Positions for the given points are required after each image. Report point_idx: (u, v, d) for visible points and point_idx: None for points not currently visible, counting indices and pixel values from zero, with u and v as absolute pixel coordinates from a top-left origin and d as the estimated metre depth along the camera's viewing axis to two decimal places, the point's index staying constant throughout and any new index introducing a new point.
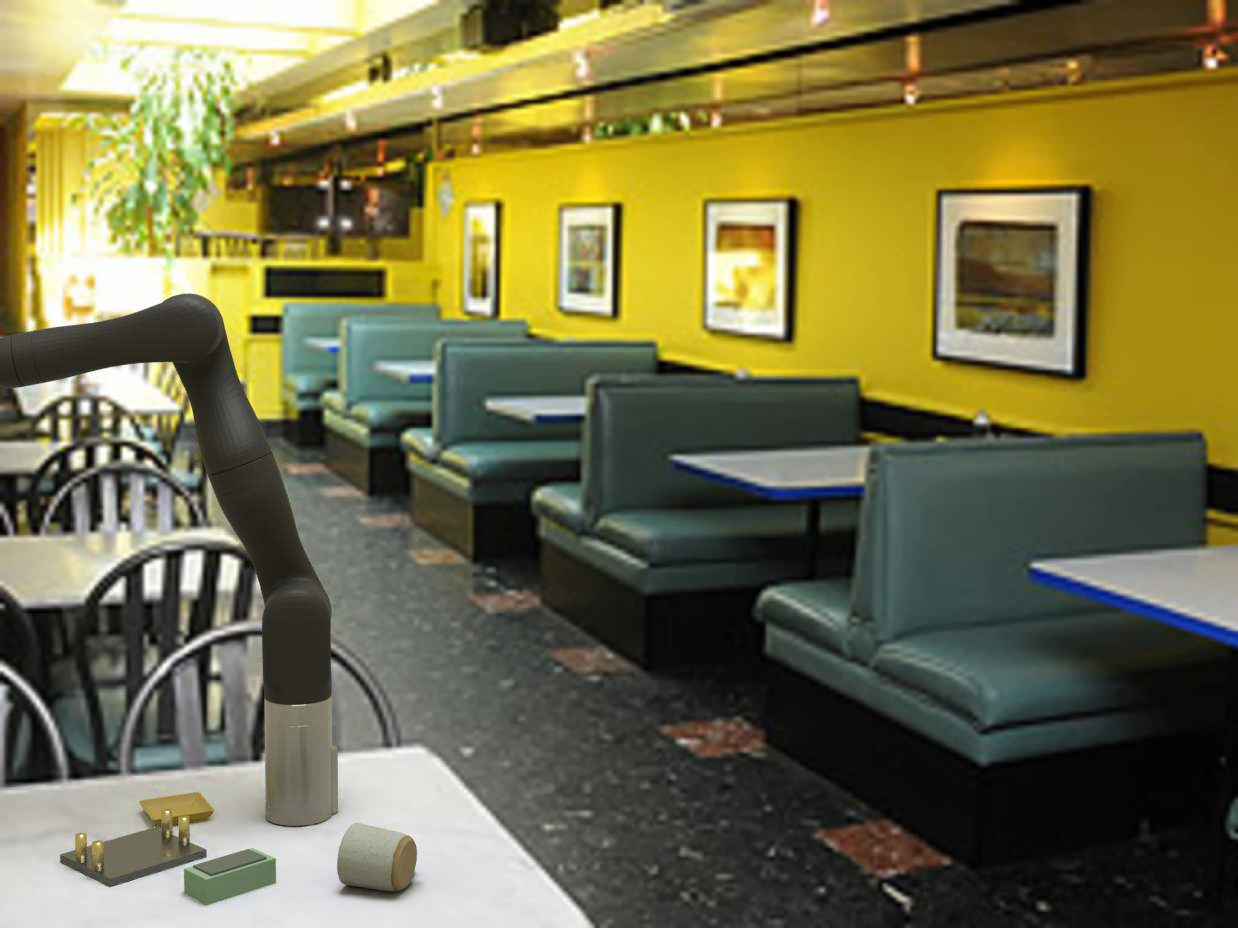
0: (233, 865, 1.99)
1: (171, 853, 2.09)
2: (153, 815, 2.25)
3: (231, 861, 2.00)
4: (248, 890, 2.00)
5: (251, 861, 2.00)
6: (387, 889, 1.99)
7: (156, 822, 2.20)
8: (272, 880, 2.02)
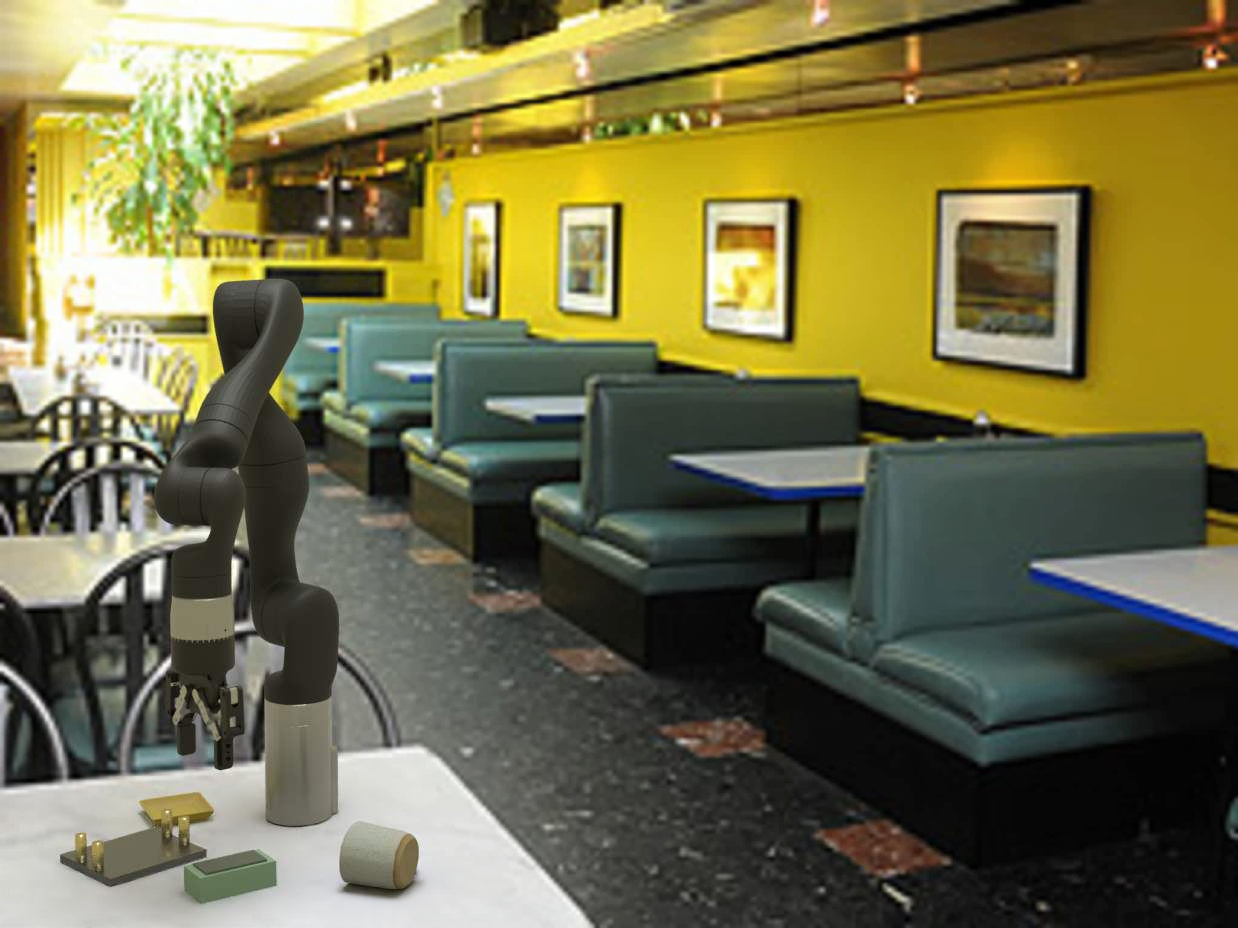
0: (231, 865, 1.99)
1: (171, 853, 2.09)
2: (153, 815, 2.25)
3: (231, 861, 2.00)
4: (246, 891, 1.99)
5: (250, 862, 2.00)
6: (389, 887, 1.99)
7: (156, 822, 2.20)
8: (272, 883, 2.01)
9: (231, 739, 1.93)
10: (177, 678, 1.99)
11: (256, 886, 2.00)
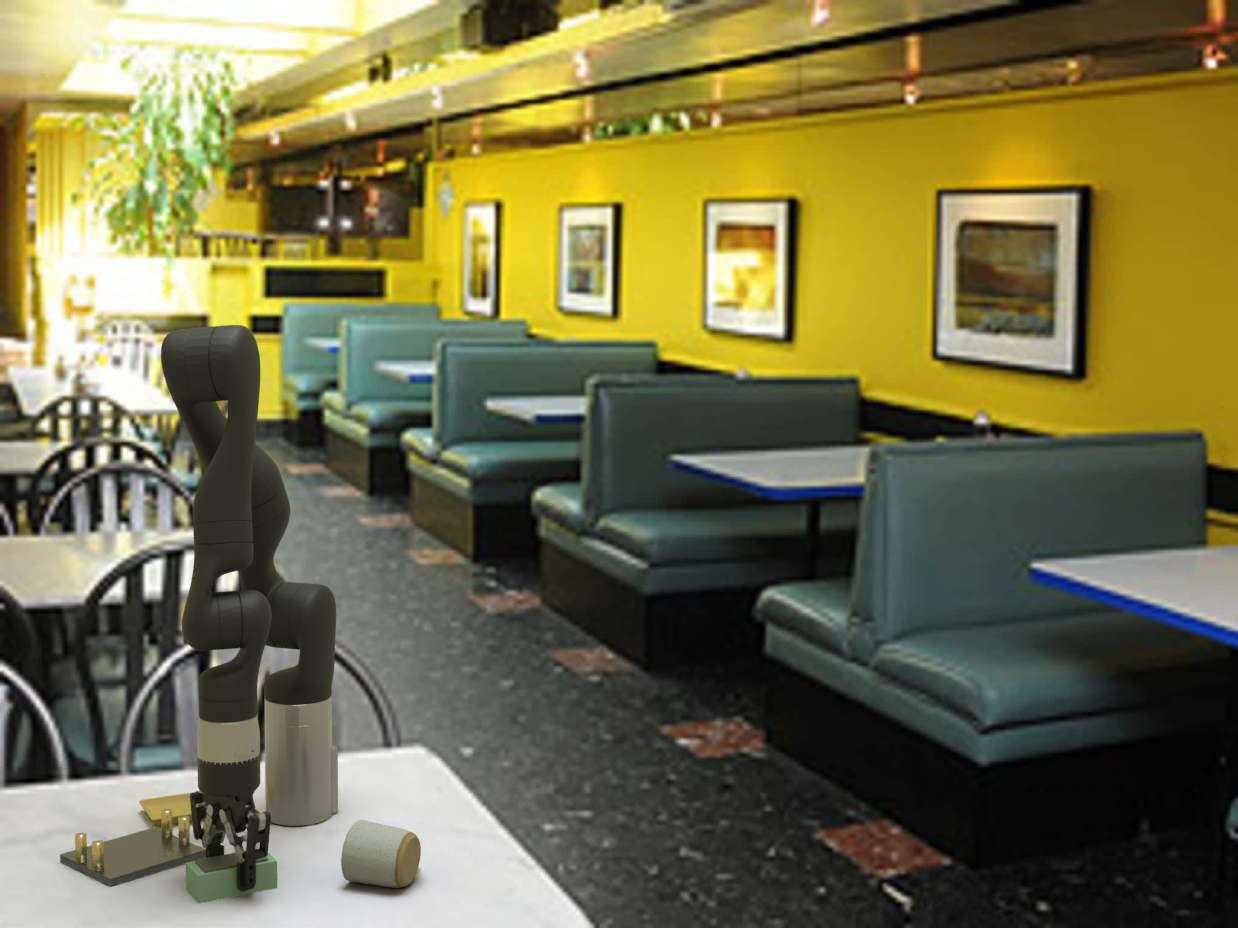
0: (231, 864, 1.98)
1: (171, 853, 2.09)
2: (153, 815, 2.26)
3: (232, 859, 2.00)
4: None
5: None
6: (391, 885, 2.00)
7: (156, 822, 2.20)
8: (273, 882, 2.01)
9: (254, 861, 1.97)
10: (201, 798, 2.02)
11: (256, 885, 1.99)
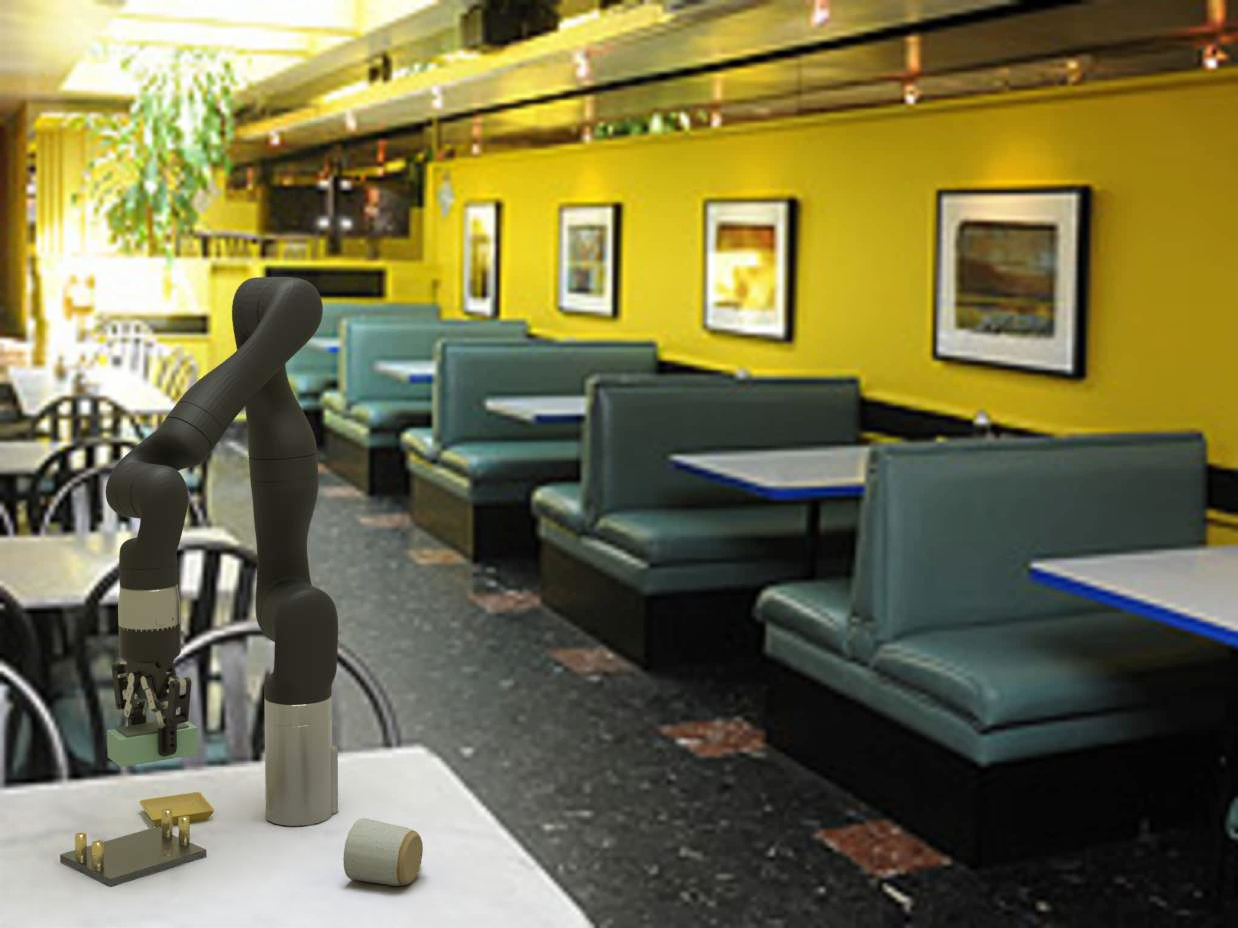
0: (152, 730, 2.03)
1: (171, 853, 2.09)
2: (153, 815, 2.26)
3: (153, 727, 2.05)
4: (167, 756, 2.04)
5: None
6: (393, 883, 2.01)
7: (156, 822, 2.20)
8: (194, 749, 2.06)
9: (175, 726, 2.02)
10: (123, 669, 2.07)
11: (177, 751, 2.05)
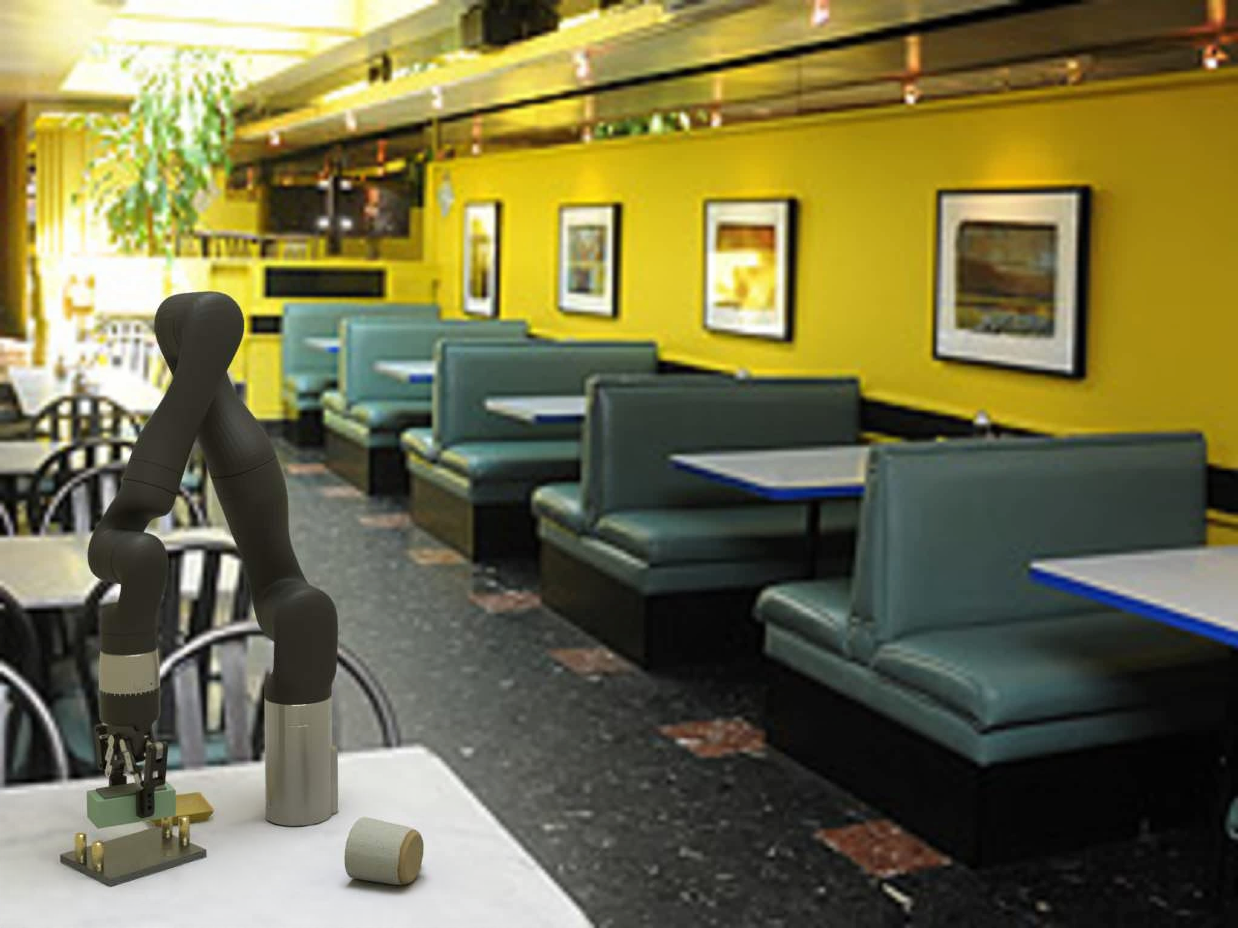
0: (130, 792, 2.07)
1: (171, 853, 2.09)
2: None
3: (132, 788, 2.08)
4: None
5: None
6: (394, 882, 2.01)
7: (155, 822, 2.20)
8: (171, 810, 2.09)
9: (152, 789, 2.06)
10: (105, 730, 2.11)
11: (155, 813, 2.08)
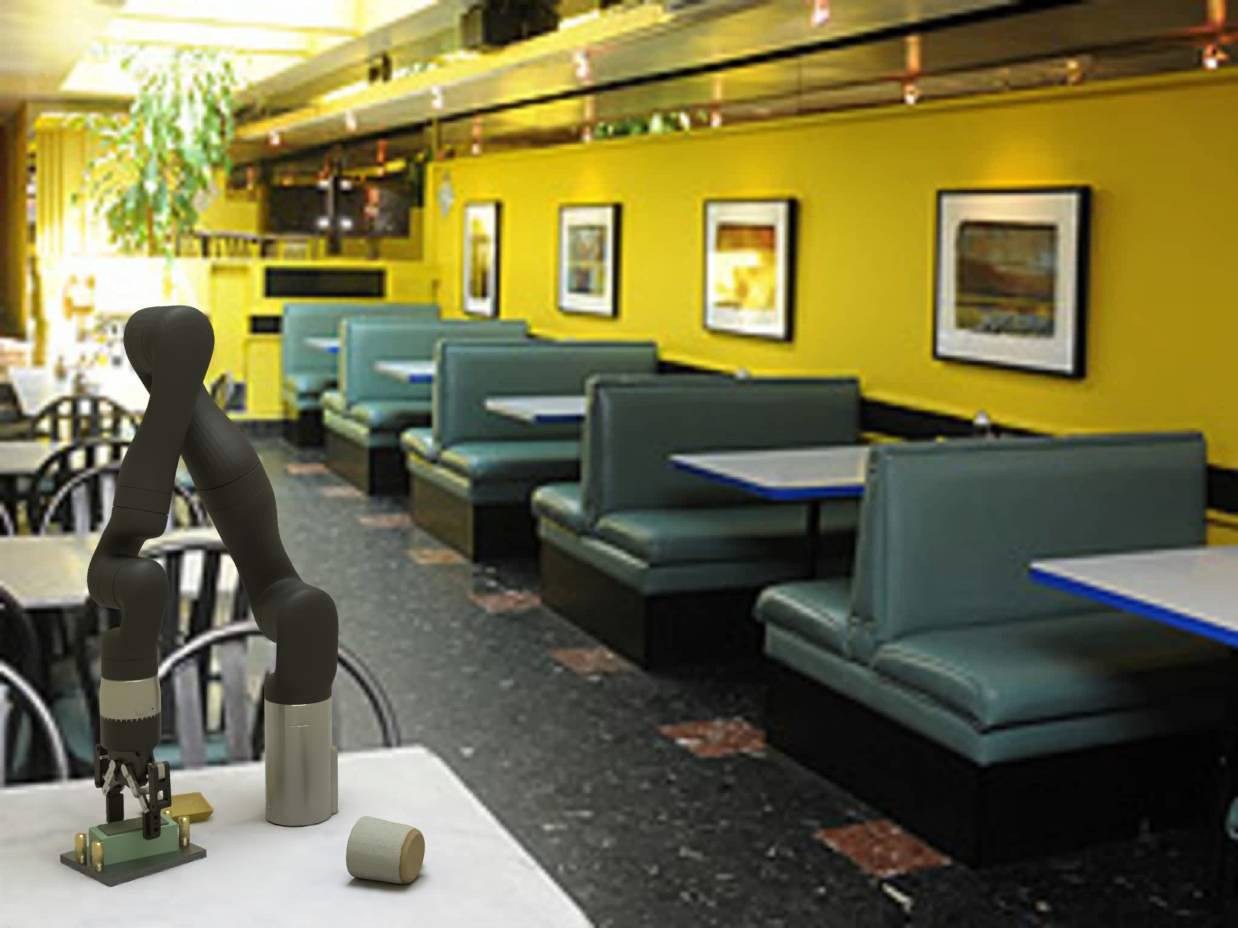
0: (133, 827, 2.07)
1: (171, 853, 2.09)
2: None
3: (134, 824, 2.09)
4: (147, 853, 2.08)
5: None
6: (395, 881, 2.01)
7: None
8: (174, 845, 2.10)
9: (158, 811, 2.05)
10: (106, 751, 2.11)
11: (157, 848, 2.09)
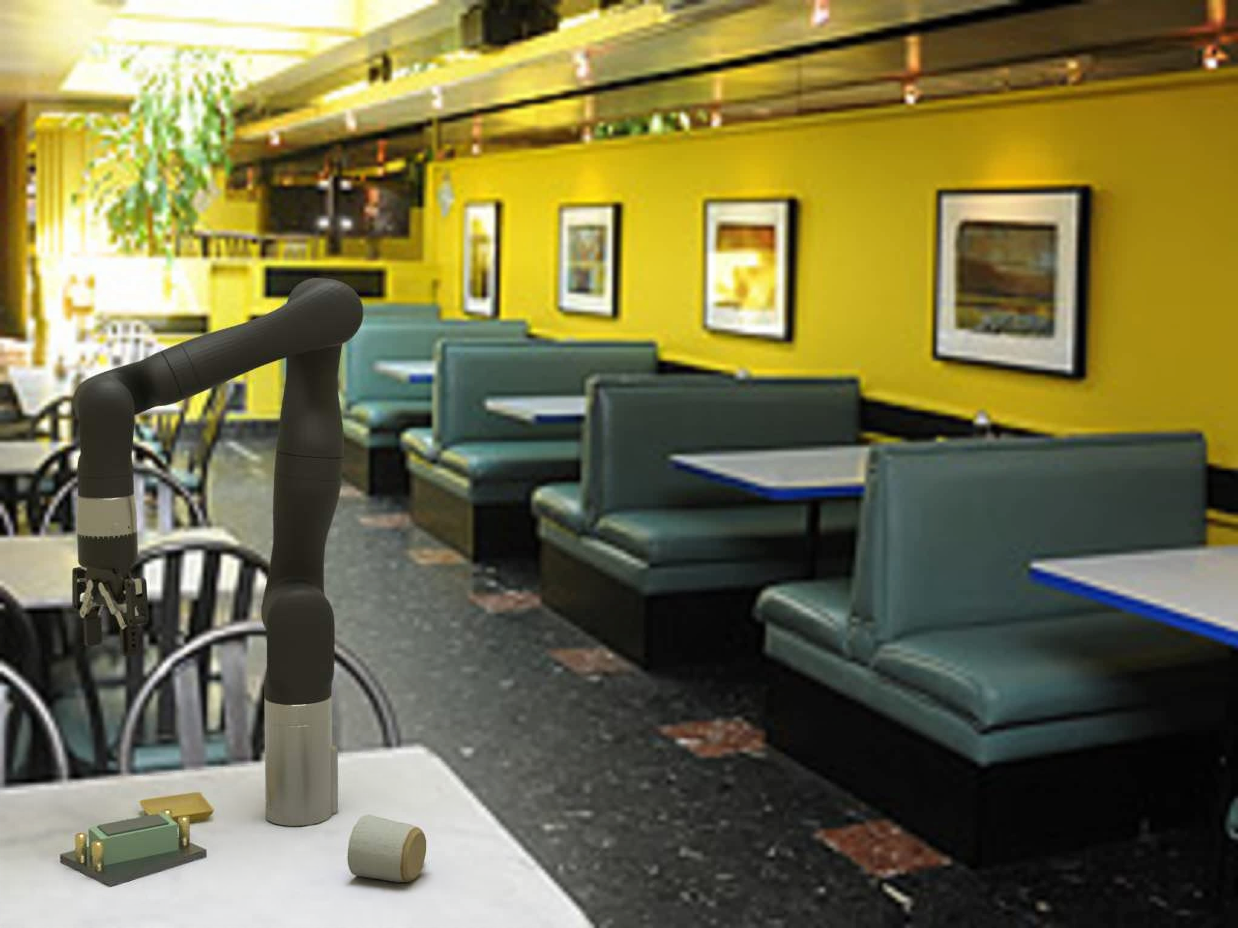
0: (133, 827, 2.07)
1: (171, 853, 2.09)
2: None
3: (134, 824, 2.09)
4: (147, 853, 2.08)
5: (152, 825, 2.08)
6: (396, 880, 2.02)
7: None
8: (174, 845, 2.10)
9: (136, 627, 2.09)
10: (83, 574, 2.15)
11: (157, 848, 2.09)
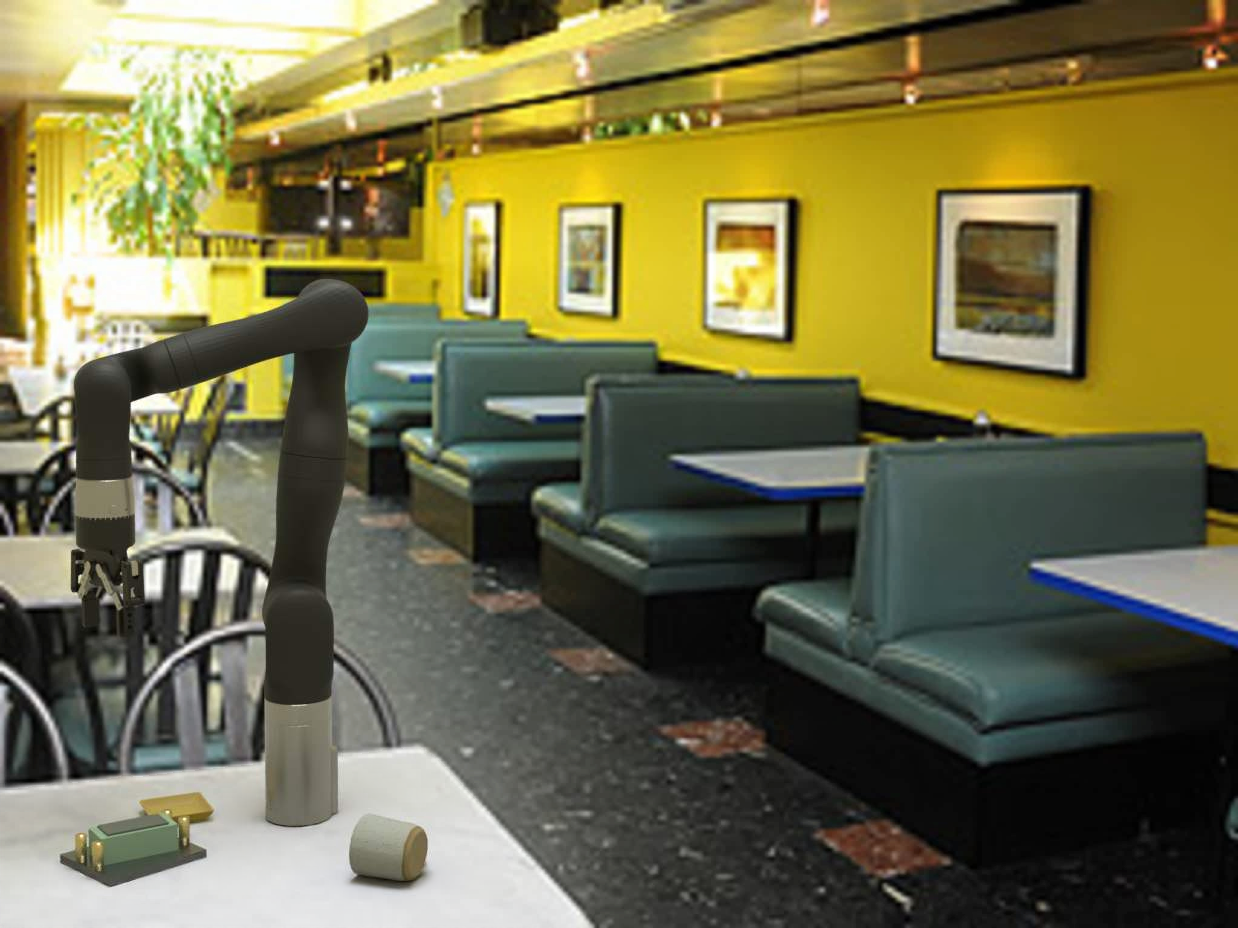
0: (133, 827, 2.07)
1: (171, 853, 2.09)
2: None
3: (134, 824, 2.09)
4: (147, 853, 2.08)
5: (152, 825, 2.08)
6: (398, 879, 2.02)
7: None
8: (174, 845, 2.10)
9: (132, 609, 2.11)
10: (81, 556, 2.17)
11: (157, 848, 2.09)
